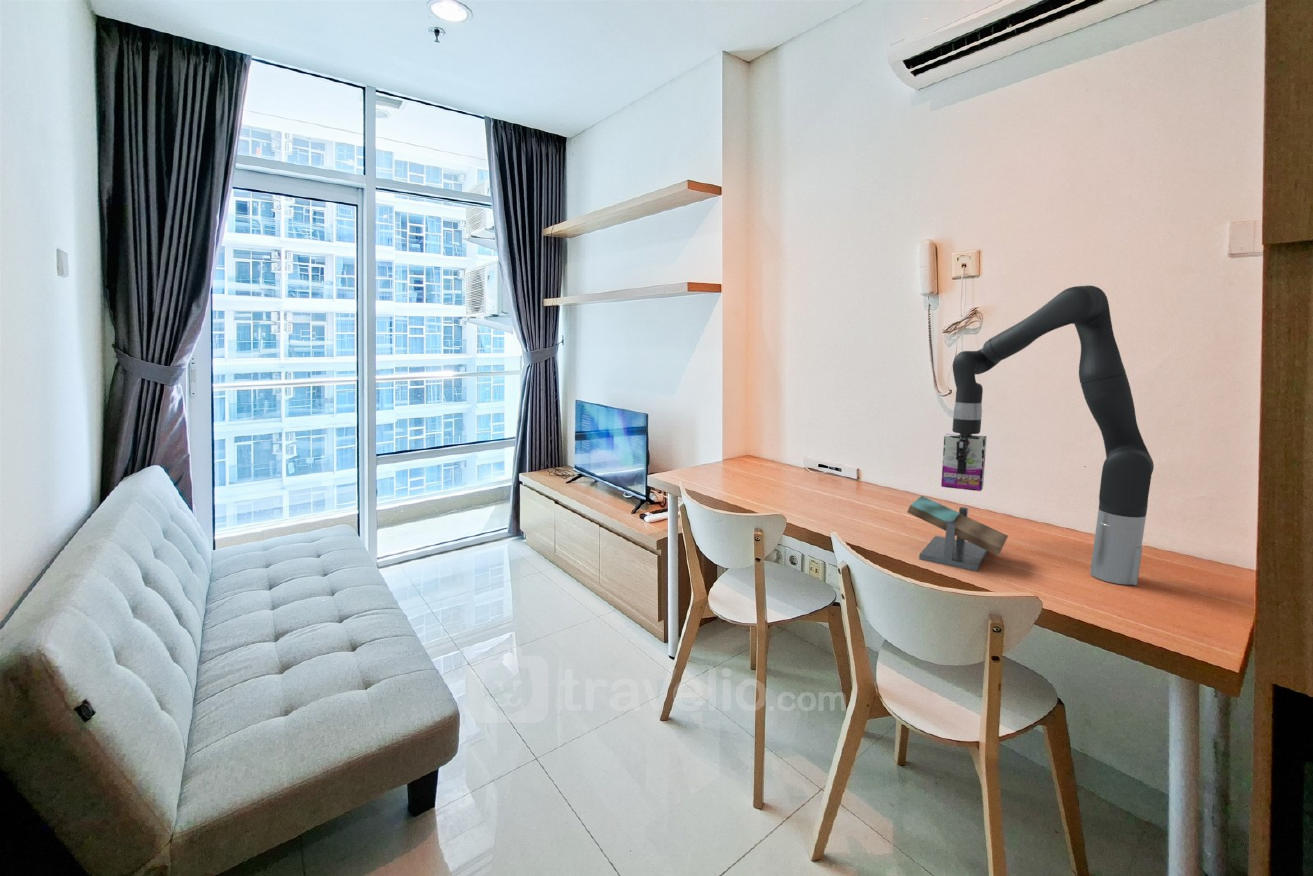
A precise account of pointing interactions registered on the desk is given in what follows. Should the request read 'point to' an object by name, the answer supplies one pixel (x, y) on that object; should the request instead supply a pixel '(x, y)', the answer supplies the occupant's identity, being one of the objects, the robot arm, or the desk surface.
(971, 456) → the candy bar box
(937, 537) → the beam stand
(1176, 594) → the desk surface
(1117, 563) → the robot arm
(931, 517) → the balance beam
